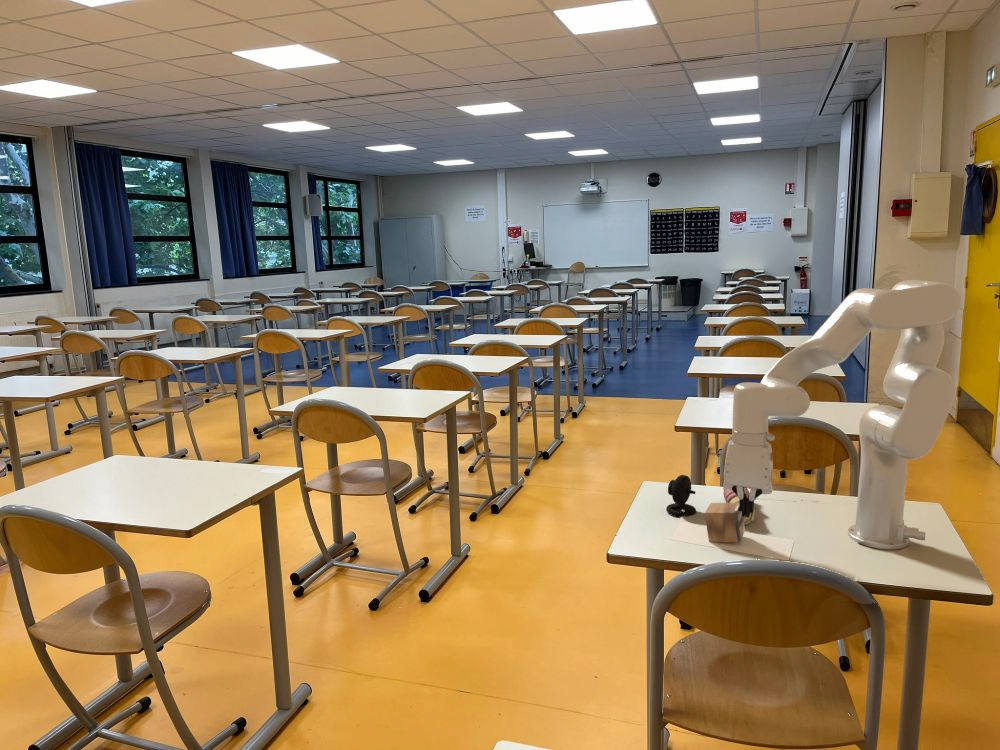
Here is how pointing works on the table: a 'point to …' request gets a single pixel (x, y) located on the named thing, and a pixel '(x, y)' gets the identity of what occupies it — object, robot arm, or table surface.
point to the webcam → (680, 496)
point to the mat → (748, 543)
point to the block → (724, 522)
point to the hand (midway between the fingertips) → (746, 514)
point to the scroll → (733, 498)
